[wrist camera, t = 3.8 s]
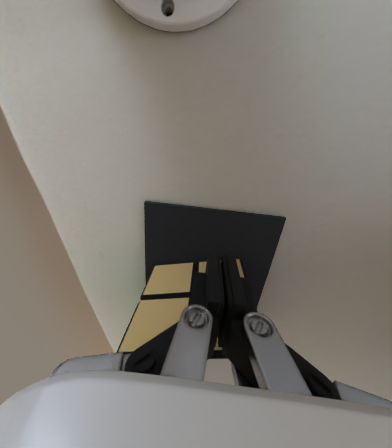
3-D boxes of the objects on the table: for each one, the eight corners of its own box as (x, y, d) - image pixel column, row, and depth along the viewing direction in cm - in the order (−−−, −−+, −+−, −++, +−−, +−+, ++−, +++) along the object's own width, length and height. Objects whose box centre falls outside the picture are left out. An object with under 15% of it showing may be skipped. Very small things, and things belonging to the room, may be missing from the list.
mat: (145, 200, 18) (143, 202, 18) (284, 216, 18) (287, 219, 17) (147, 364, 30) (146, 369, 29) (233, 375, 29) (233, 380, 29)
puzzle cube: (245, 320, 24) (268, 432, 14) (170, 324, 25) (148, 429, 16) (241, 256, 20) (271, 354, 11) (153, 263, 21) (110, 357, 12)
